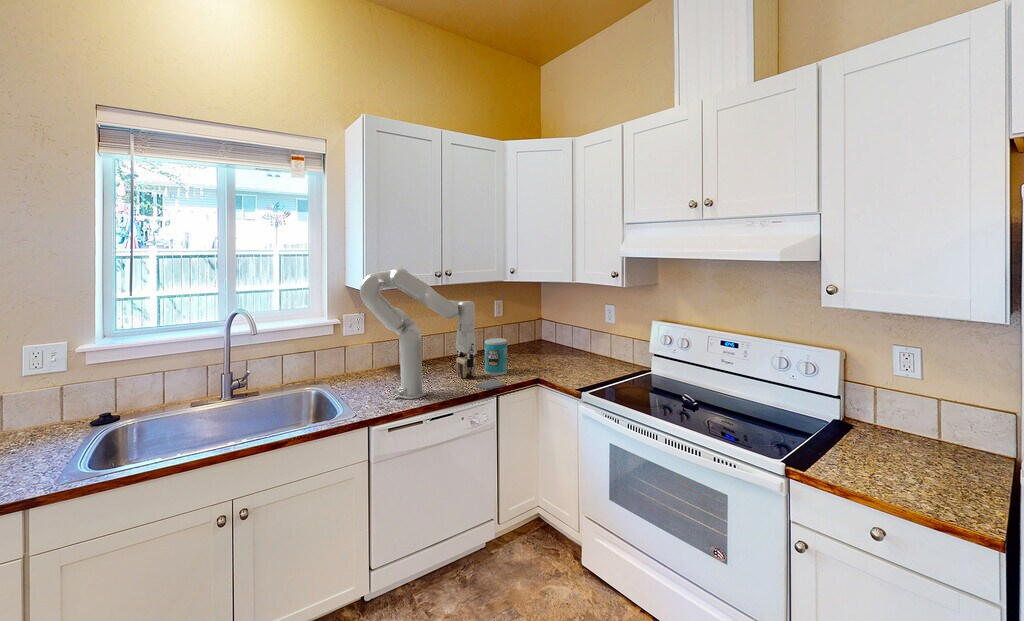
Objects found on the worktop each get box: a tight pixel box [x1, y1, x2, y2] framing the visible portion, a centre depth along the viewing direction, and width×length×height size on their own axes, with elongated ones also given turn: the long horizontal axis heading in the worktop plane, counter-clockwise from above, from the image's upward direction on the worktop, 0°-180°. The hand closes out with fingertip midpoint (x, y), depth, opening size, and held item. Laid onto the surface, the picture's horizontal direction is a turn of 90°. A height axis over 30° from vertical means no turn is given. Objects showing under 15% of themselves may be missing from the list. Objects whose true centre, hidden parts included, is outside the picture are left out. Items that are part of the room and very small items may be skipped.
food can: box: [484, 337, 508, 377], centre depth 241 cm, size 12×12×18 cm
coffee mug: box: [450, 361, 474, 380], centre depth 233 cm, size 12×9×10 cm
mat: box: [475, 379, 507, 391], centre depth 220 cm, size 12×9×1 cm
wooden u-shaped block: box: [455, 355, 477, 378], centre depth 209 cm, size 6×6×8 cm
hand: (465, 365), depth 209 cm, fingers closed on wooden u-shaped block, 6 cm apart
